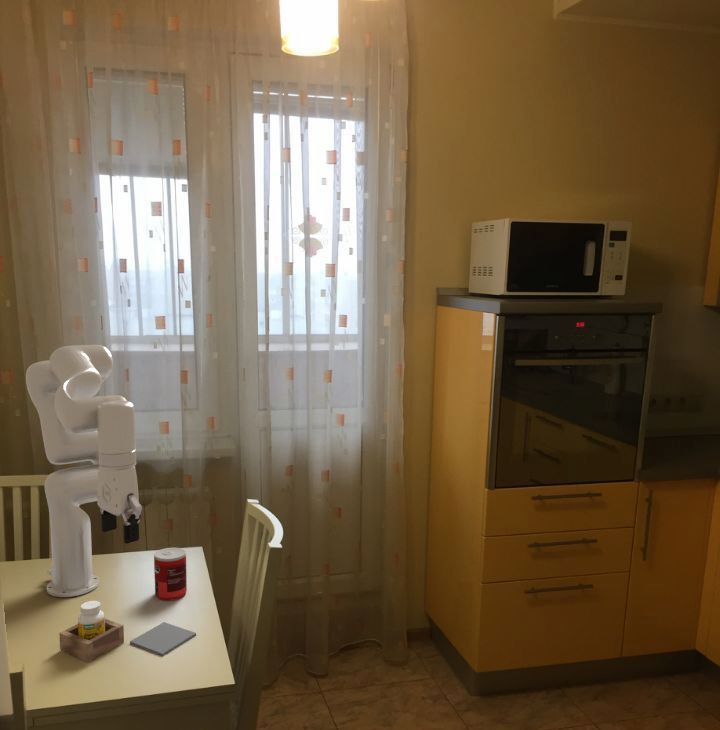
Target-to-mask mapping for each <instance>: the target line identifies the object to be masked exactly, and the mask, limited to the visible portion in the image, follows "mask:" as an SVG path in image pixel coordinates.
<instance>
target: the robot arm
mask: <svg viewBox="0 0 720 730" xmlns="http://www.w3.org/2000/svg"><path fill="white" fill-rule="evenodd" d="M113 368H114V359H113V356H112V353H111V351H110V350H109V349H108V348H107V347H106V346H104V345H101V344H79V345H77V344H76V345H64V346H61V347H58V348H56V349H55V350H54V351H53V352H52V353H51V355H50V356H49V360H42V361H37V362H35V363H32V364H31V365H29V366H28V368H27V369H26V373H25V384H26V388H27V392H28V394H29V397H30V400H31V402H32V403H33V405H34V407H35V409H36V411H37V413H38V417H39V420H40V421H39V422H40V427H41V434H42V441H43V446H44V453H45V455H46V458H47V460H48V462H49V464H52V465H68V464H75V463H83V462H87V461H88V462H89V461H90V462H91V463H92V464H89V465H83V466H82V465H81V466H73V467H69V468H64V469H58V470H56V471H53V472H52V473H50V474H49V475H48V476H47V477H46V479H45V481H44V492H45V497H46V501H47V506H48V512H49V513H48V514H49V524H50V542H51V543H50V544H51V548H50V549H51V562H52V563H51V565H52V566H51V569H50V568H49V569H47V570H46V575H49V576H50V577H51V580H50V582H49V583H48V584H47V586H46V592H47V594H48V595H50V596H51V597H56V598H71V597H76V596H81V595H85V594H87V593H90V592H92V591H94V590H95V589H96V588H97V587H98V586H99V585H100V577H99V576H98V575H96V574H93V557H92V555H93V553H92V529H91V528H92V526H91V525H92V524H91V519H90V516H89V515H88V513H86V512H85V511H84V510H83V509H82V508H81V507H80V506H81V505H84V504H87V503H93V502H97V503H96V504H97V506H98V507H99V508H100V509H99V511H100V513H101V514H100V516H101V532H103V533H106V532H110V531H113V530H116V529H117V527H118V525H117V517H119V516H122V519H123V522H124V524H123V544H130V543H134V542H137V541H140V526H139V525H140V522H141V517H142V510H143V506H142V505H141V504H140V502H139V500H140V499H139V486H138V476H137V470H136V465H137V443H136V442H137V441H136V439H137V438H136V410H135V405H134V404H133V403H132V402H131V401H129V400H127V398H125V397H124V396H122V395H117V394H115V395H114V394H113V395H103V396H102V395H100V396H99V395H98V396H96V395H97V393H98V392H99V391H100V390H101V387H102V383H104V381H106V380H107V379H108V378H109V377H110V376H111V374H112V371H113V370H114V369H113ZM130 514H131V515H130ZM128 515H130V516H128Z"/></svg>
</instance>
